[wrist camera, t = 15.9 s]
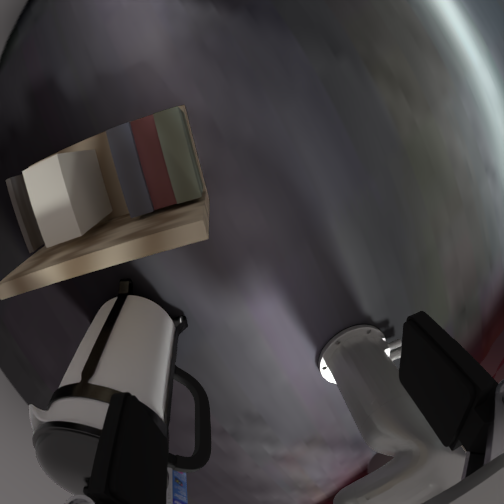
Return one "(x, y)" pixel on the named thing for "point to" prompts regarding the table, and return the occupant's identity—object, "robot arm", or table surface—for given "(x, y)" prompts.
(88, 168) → the boxed book
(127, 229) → the bookshelf
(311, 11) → the table surface
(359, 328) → the robot arm
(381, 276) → the table surface
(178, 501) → the ink cartridge box
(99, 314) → the coffee press
